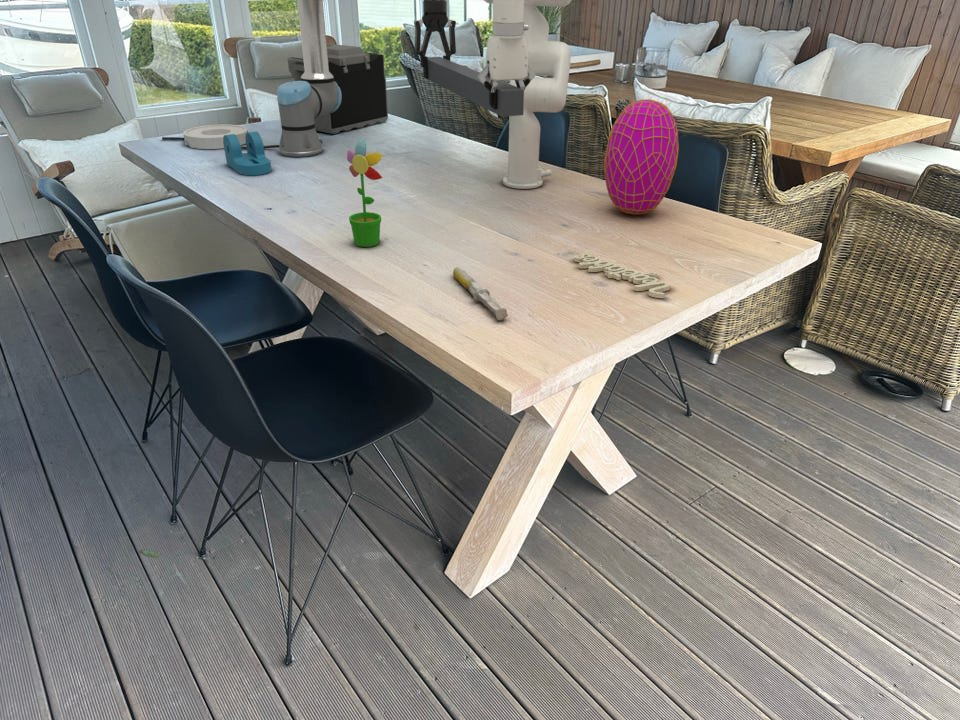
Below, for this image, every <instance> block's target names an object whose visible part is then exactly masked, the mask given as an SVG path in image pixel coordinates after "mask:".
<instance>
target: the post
mask: <svg viewBox="0 0 960 720" xmlns="http://www.w3.org/2000/svg"><path fill="white" fill-rule="evenodd" d="M427 57H428V56H427ZM480 72H481V71H477V70H475V69H472V68H470V67H468V66H465V65H462V64H460V63H457V62H454V61H452V60H450V61H449V60H447V59H444V58H443V56H442V57H441V56H429V57H428V78H427V79H426V80H429V81H430V82H432V83H434V84H436V85H437V86H440V87H442V88H444V89H445V90H448V91H450V92H452V93H454V94H455V95H458V96H459V97H462V98H464V99H465V100H468V101H470V102H472V103H474V104H475V105H477V106H480V107H482V108H483V109H486V110H487V111H490V112H491V113H493V114H495V115H497V116H499V117H501V118H505V117H506V118H507V117H509V116H519V115H523V108H524V90H523V89H521V88H518V87H516V86H513V85H511V84H509V83H508V82H506V81H499V83H498V86H497V88H496V93H497V94H498V98H497V109H493V108H491V105H490V104H489V91H488V89H487V88H486V87H485V86H484V85H483V84H482V83H481V82H480V81H479V80H478V78H477V76H478V75H479V74H480ZM422 75H423V74H422ZM423 78H424V75H423ZM485 79H486V80H487V81H488V82H490V80H491V78H488V77H485Z"/></svg>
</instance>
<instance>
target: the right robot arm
mask: <svg viewBox="0 0 960 720" xmlns="http://www.w3.org/2000/svg"><path fill="white" fill-rule="evenodd" d="M483 1H484V3H487V4H490V5H492V30H491V31H492V34H491V35H489V36H488V40H487V45H486V53H485V63H484V68H483V69H482V70H481V71H479V72H480V74H479V75H478V76H477V78H478V80H479V81H480V82H481V83H482V84H483V85H484V86H485V87H486V88H487V89H488V91H489V104H490V105H491V108H493V109H497V98H498V94H497V93H496V88H497V86H498V83H499V81H503V82H506V81H509V83H508V84H511V85H513V86H516V87H518V88H521V89H523V90H524V108H523V115H519V116H508V119H509V120H508V121H509V122H508V123H509V124H508V125H509V126H508V128H509V129H508V157H507V176H504V177H503V179H502V184H503V186H505V187H508V188H511V189H519V190H530V189H531V190H532V189H536V188H539V187H541V186H542V185H543V179H542V178H543V177H548V176H549V177H550V176H552V173H553V172H552V169H544V168H539V165H540V164H539V163H540V162H539V160H540V144H541V143H540V142H541V140H540V139H541V124H540V121H539V119H538V117H536V115H535V113H555V114H557V113H560V112H562V111H563V109H564V108H565V106H566V101H567V94H568V87H569V78H570V69H571V61H572V59H571V57H572V56H571V48H570V46H569V45H568V44H567V43H566V42H563V41H556V40H549V32H550V25H549V23H548V20H547V19H546V17H545V15H544V14H543V13H542V12H541V11H540V10H539V8H538V7H548V8H549V7H550V8H552V7H553V8H565V7H567V6H569V5H570V4H571V2H572V1H573V0H483ZM541 76H542V77H541ZM485 77H488V78H491V80H490V82H488V81H487V80H486V79H485Z"/></svg>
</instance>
